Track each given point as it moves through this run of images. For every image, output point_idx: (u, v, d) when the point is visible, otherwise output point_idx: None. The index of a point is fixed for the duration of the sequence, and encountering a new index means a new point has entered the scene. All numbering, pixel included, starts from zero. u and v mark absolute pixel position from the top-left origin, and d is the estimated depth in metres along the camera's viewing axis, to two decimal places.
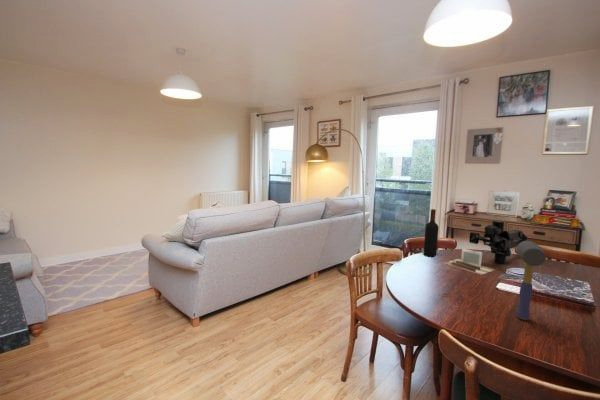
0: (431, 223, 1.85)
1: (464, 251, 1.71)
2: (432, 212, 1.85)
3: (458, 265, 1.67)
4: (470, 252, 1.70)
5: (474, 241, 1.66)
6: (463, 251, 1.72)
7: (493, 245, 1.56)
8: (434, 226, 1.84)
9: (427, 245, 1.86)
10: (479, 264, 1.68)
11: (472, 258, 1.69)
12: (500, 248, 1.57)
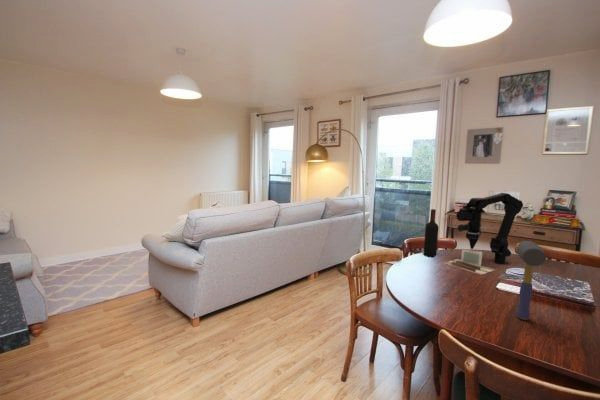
0: (431, 223, 1.85)
1: (464, 251, 1.71)
2: (432, 212, 1.85)
3: (458, 265, 1.67)
4: (470, 252, 1.70)
5: None
6: (463, 251, 1.72)
7: (472, 244, 1.65)
8: (434, 226, 1.84)
9: (427, 245, 1.86)
10: (479, 264, 1.68)
11: (472, 258, 1.69)
12: (476, 239, 1.62)
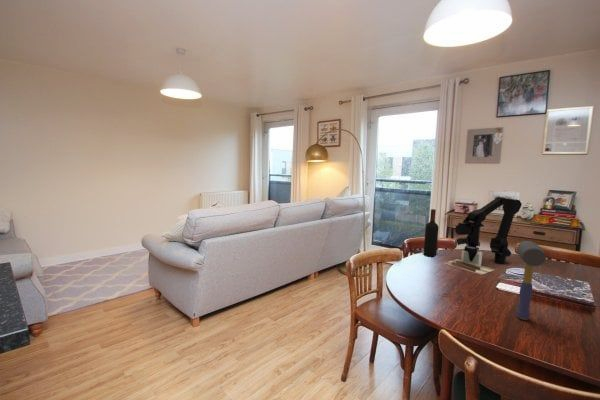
0: (431, 223, 1.85)
1: (464, 251, 1.71)
2: (432, 212, 1.85)
3: (458, 265, 1.67)
4: None
5: None
6: (463, 251, 1.72)
7: (471, 256, 1.68)
8: (434, 226, 1.84)
9: (427, 245, 1.86)
10: (479, 264, 1.68)
11: None
12: None
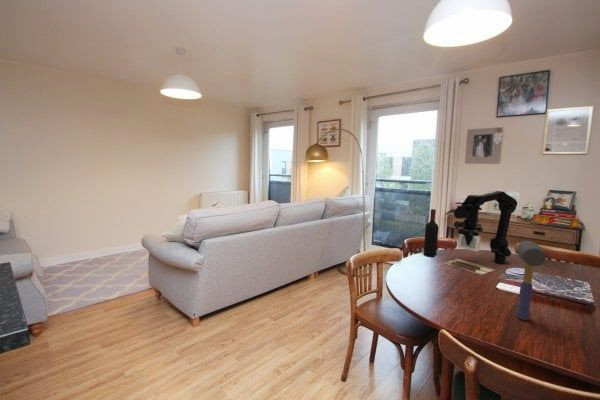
0: (431, 223, 1.85)
1: (462, 235, 1.68)
2: (432, 212, 1.85)
3: (458, 265, 1.67)
4: None
5: None
6: (461, 235, 1.69)
7: (468, 240, 1.64)
8: (434, 226, 1.84)
9: (427, 245, 1.86)
10: (476, 249, 1.63)
11: None
12: (470, 235, 1.61)
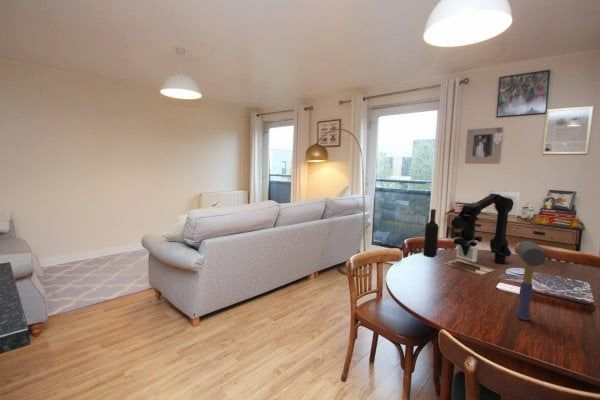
0: (431, 223, 1.85)
1: (459, 245, 1.67)
2: (432, 212, 1.85)
3: (458, 265, 1.67)
4: None
5: None
6: (458, 245, 1.68)
7: (465, 251, 1.63)
8: (434, 226, 1.84)
9: (427, 245, 1.86)
10: (473, 259, 1.61)
11: None
12: (466, 246, 1.60)
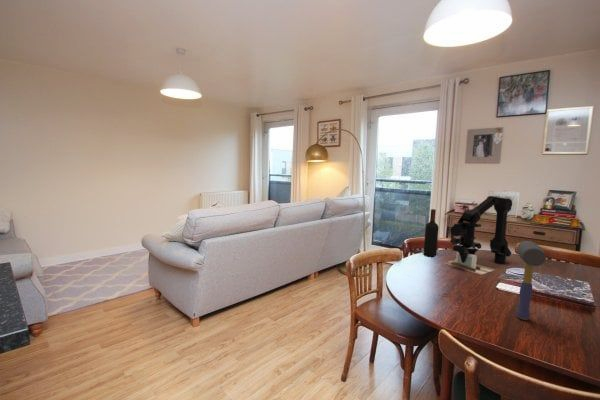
0: (431, 223, 1.85)
1: (458, 253, 1.68)
2: (432, 212, 1.85)
3: (458, 265, 1.67)
4: None
5: None
6: (458, 253, 1.68)
7: (463, 258, 1.63)
8: (434, 226, 1.84)
9: (427, 245, 1.86)
10: (472, 267, 1.62)
11: (465, 261, 1.65)
12: (464, 253, 1.60)
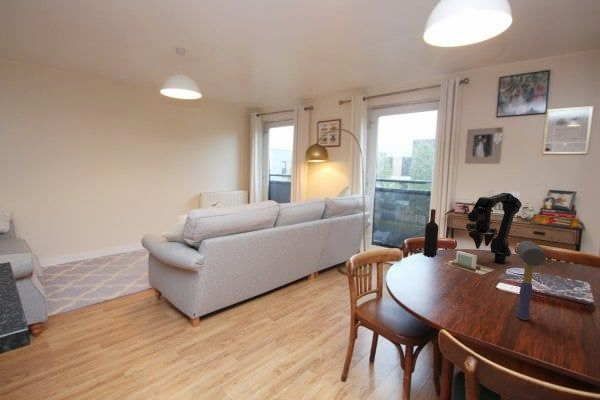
0: (431, 223, 1.85)
1: (458, 253, 1.68)
2: (432, 212, 1.85)
3: (458, 265, 1.67)
4: (464, 254, 1.65)
5: (488, 239, 1.67)
6: (458, 253, 1.68)
7: (477, 244, 1.62)
8: (434, 226, 1.84)
9: (427, 245, 1.86)
10: (472, 267, 1.62)
11: (465, 261, 1.65)
12: (479, 239, 1.59)
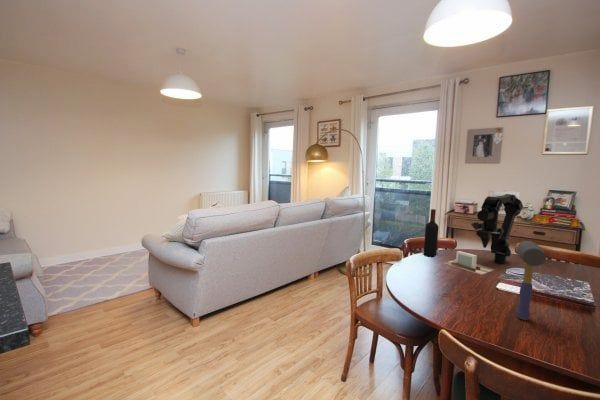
0: (431, 223, 1.85)
1: (458, 253, 1.68)
2: (432, 212, 1.85)
3: (458, 265, 1.67)
4: (464, 254, 1.65)
5: (495, 238, 1.67)
6: (458, 253, 1.68)
7: (484, 243, 1.62)
8: (434, 226, 1.84)
9: (427, 245, 1.86)
10: (472, 267, 1.62)
11: (465, 261, 1.65)
12: (486, 237, 1.59)
